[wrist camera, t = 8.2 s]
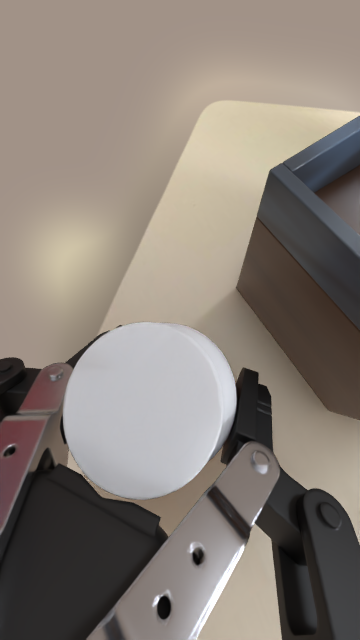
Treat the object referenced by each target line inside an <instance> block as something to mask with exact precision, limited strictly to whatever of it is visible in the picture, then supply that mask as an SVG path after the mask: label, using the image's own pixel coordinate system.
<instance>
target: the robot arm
mask: <svg viewBox="0 0 360 640" xmlns="http://www.w3.org/2000/svg"><path fill="white" fill-rule="evenodd" d="M121 326H122V325H119V326H118V327H121ZM118 327H117V328H118ZM108 332H109V331H107V332H104V333H102V334H100V335H99V336H97V337H96V338H95V339H94V340H93V341H91V342H90V343H89V344H88V345H87V346H85V347H84V348H83V349H82V350H80V351H79V352H78V353H77V354H75V355H74V356H73V357H72V358H71V359H69V360H68V361H67V362H66V363H54V364H51V365H49V366H47V367H45V368H43V369H35V368H25V366H24V363H23V361H22V360H20V359H18V358H4V359H0V640H196V638H197V636H198V635H199V633H200V631H201V629H202V627H203V625H204V623H205V621H206V620H207V618H208V616H209V614H210V612H211V610H212V608H213V606H214V605H215V603H216V601H217V599H218V597H219V595H220V593H221V591H222V590H223V588H224V586H225V584H226V582H227V580H228V578H229V576H230V575H231V573H232V571H233V569H234V567H235V565H236V563H237V561H238V559H239V558H240V556H241V554H242V552H243V550H244V548H245V546H246V544H247V542H248V539H249V536H250V531H251V528H252V526H253V525H254V523H255V524H256V525H257V526H258V527H259V528H261V529H262V530H263V531H264V532H265V533H266V534H267V535H268V536H269V537H270V538H271V541H272V550H273V559H274V569H275V578H276V587H277V597H278V606H279V615H280V625H281V634H282V640H360V545H359V542H358V539H357V536H356V534H355V531H354V528H353V525H352V523H351V520H350V518H349V516H348V514H347V513H346V511H345V510H344V508H343V507H342V506H341V504H340V503H339V502H338V501H337V500H336V499H335V498H334V497H333V496H331V495H330V494H329V493H327V492H325V491H323V490H321V489H315V488H313V489H310V490H307V489H305V488H304V487H303V486H301V485H300V484H299V483H298V482H296V481H295V480H294V479H292V478H291V477H290V476H289V475H288V474H287V473H286V472H285V471H284V470H283V469H282V468H281V467H280V465H279V463H278V460H277V458H276V457H275V455H274V452H273V441H272V416H271V414H272V410H271V395H270V393H269V391H268V389H267V387H266V386H264V385H261V384H258V376H259V374H258V372H256V371H253V370H250V369H247V368H244V367H243V369H242V371H241V373H240V375H239V378H238V380H237V382H236V385H235V386H236V397H237V405H236V414H235V419H234V423H233V426H232V429H231V431H230V433H229V436H228V438H227V439H226V441H225V443H224V445H223V450H222V456H221V462H222V463H224V464H226V465H227V467H226V468H225V469H224V471H223V472H222V473H221V474H220V476H219V477H218V478H217V480H216V481H215V482H214V483H213V485H212V486H211V487H209V488H208V489H207V490H206V491H205V492H204V494H203V495H202V496H201V497H200V499H199V500H198V501H197V502H196V504H195V505H194V506H193V507H192V509H191V510H190V511H189V513H188V514H187V515H186V516H185V518H184V519H183V520H182V521H181V523H180V524H179V525H178V526H177V528H176V529H175V530H174V531H173V533H172V534H171V535H170V536H169V537H168V536H167V534H166V533H165V531H164V530H163V529H162V528H161V527H160V526H159V522H160V518H161V517H159V516H157V515H155V514H154V513H152V512H150V511H148V510H146V509H144V508H142V507H141V506H139V505H137V504H135V503H132V502H126V501H119V500H113V499H106V498H102V497H101V496H100V495H99V494H98V493H97V492H96V491H95V490H94V488H93V487H92V486H91V485H90V484H89V483H88V482H87V480H86V479H85V478H84V477H83V476H82V475H81V474H79V473H77V472H75V471H73V470H71V469H70V468H68V467H67V463H68V451H69V447H68V444H67V440H66V437H65V432H64V427H63V403H64V396H65V392H66V388H67V384H68V381H69V379H70V376H71V374H72V371H73V370H74V368H75V366H76V364H77V362H78V360H79V359H80V358H81V356H82V355H83V354H84V353H85V351H86V350H87V349H88V348H89V347H90V346H91V345H92V344H93V343H94V342H95V341H96V340H98V339H99V338H100V337H101V336H103V335H104V334H106V333H108Z"/></svg>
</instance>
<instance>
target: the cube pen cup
mask: <svg viewBox="0 0 360 640" xmlns="http://www.w3.org/2000/svg"><path fill="white" fill-rule="evenodd" d="M236 288H237V289H238V291H239V292H240V293H241V295H242V296H243V297H244V299H245V300H246V301H247V303H248V304H249V305H250V307H251V308H252V309H253V311H254V312H255V313H256V315H257V316H258V317H259V319H260V320H261V321H262V323H263V324H264V325H265V327H266V328H267V329H268V331H269V332H270V333H271V335H272V336H273V337H274V339H275V340H276V341H277V343H278V344H279V345H280V347H281V348H282V349H283V351H284V352H285V353H286V355H287V356H288V357H289V359H290V360H291V361H292V363H293V364H294V365H295V367H296V368H297V369H298V371H299V372H300V373H301V375H302V376H303V377H304V379H305V380H306V381H307V383H308V384H309V385H310V387H311V388H312V389H313V391H314V392H315V393H316V394H317V396H318V397H319V398H320V400H321V401H322V402H323V404H324V405H325V406H326V408H327V409H328V410H329V411H331V412H335V413H338V414H341V415H345V416H348V417H351V418H354V419H358V420H360V116H358V117H357V118H355V119H353V120H352V121H350V122H348V123H347V124H345V125H343V126H342V127H340V128H338V129H337V130H335V131H334V132H332V133H330V134H329V135H327V136H325V137H324V138H322V139H320V140H319V141H317V142H315V143H314V144H312V145H310V146H309V147H307V148H305V149H304V150H302V151H301V152H299V153H297V154H296V155H294V156H292V157H291V158H289V159H287V160H286V161H284V162H283V163H281V164H279V165H277V166H276V167H274V168H272V169H271V170H270V171H269V174H268V178H267V181H266V185H265V188H264V192H263V195H262V199H261V202H260V206H259V209H258V213H257V217H256V220H255V224H254V227H253V231H252V234H251V238H250V241H249V245H248V248H247V252H246V255H245V259H244V262H243V266H242V269H241V273H240V276H239V280H238V283H237V287H236Z"/></svg>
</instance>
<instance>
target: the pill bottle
mask: <svg viewBox="0 0 360 640" xmlns="http://www.w3.org/2000/svg"><path fill="white" fill-rule="evenodd" d="M236 405H237V397H236V386H235V380H234V377H233V373H232V371H231V368H230V366H229V363H228V361H227V359H226V358H225V356H224V354H223V353H222V352H221V350H220V349H219V348H218V347H217V346H216V344H215V343H214V342H213V341H211V340H210V339H209V338H208V337H207V336H205V335H204V334H202V333H201V332H199V331H197V330H195V329H193V328H191V327H188V326H185V325H181V324H175V323H155V322H138V323H131V324H127V325H124V326H121V327H118V328H116V329H114V330H112V331H109V332H108V333H106V334H104V335H103V336H101V337H100V338H99V339H98V340H96V341H95V342H94V343H93V344H92V345H91V346H90V347H89V348H88V349H87V350H86V351H85V353H84V354H83V355H82V356H81V358H80V359H79V360H78V362H77V364H76V366H75V368H74V370H73V371H72V374H71V376H70V379H69V381H68V384H67V388H66V392H65V396H64V403H63V427H64V432H65V437H66V440H67V444H68V447H69V449H70V451H71V454H72V456H73V458H74V460H75V461H76V463H77V465H78V466H79V467H80V469H81V470H82V471H83V473H84V474H85V475H86V476H87V477H88V478H89V479H90V480H91V481H92V482H93V483H95V484H96V485H97V486H99V487H100V488H102V489H104V490H105V491H107V492H109V493H112V494H114V495H116V496H119V497H123V498H127V499H134V500H137V499H141V500H147V499H154V498H158V497H162V496H165V495H167V494H169V493H172V492H174V491H176V490H178V489H179V488H181V487H183V486H184V485H186V484H187V483H188V482H190V481H191V480H192V479H193V478H194V477H195V476H196V475H197V474H198V473H199V472H200V471H201V470H202V468H203V467H204V466H205V465H206V463H207V462H208V461H209V460H211V459H212V458H213V457H214V456H215V455H216V453H217V452H218V451H219V450H220V449H221V447H222V446H223V445H224V443H225V441H226V439H227V438H228V436H229V433H230V431H231V429H232V426H233V423H234V419H235V414H236Z"/></svg>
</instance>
